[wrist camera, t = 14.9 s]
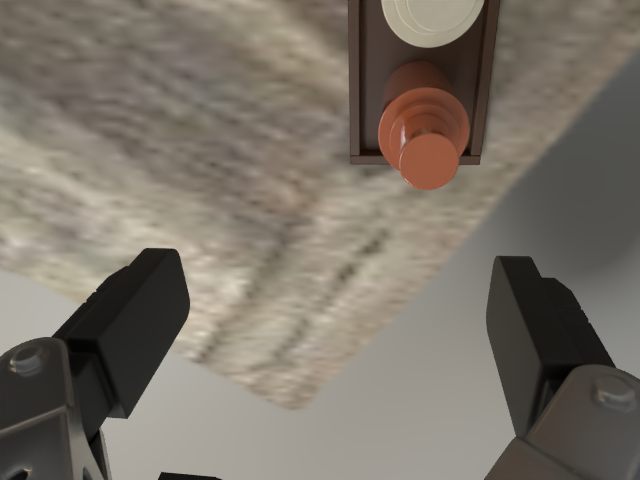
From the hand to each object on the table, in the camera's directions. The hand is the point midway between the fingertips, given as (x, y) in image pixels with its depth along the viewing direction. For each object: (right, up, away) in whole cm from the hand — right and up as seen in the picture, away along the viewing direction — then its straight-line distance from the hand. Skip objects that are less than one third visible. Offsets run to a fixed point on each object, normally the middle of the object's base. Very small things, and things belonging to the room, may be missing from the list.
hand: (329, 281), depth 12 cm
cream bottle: (+7, +19, +22) cm, 30 cm away
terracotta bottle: (+7, +13, +25) cm, 29 cm away
